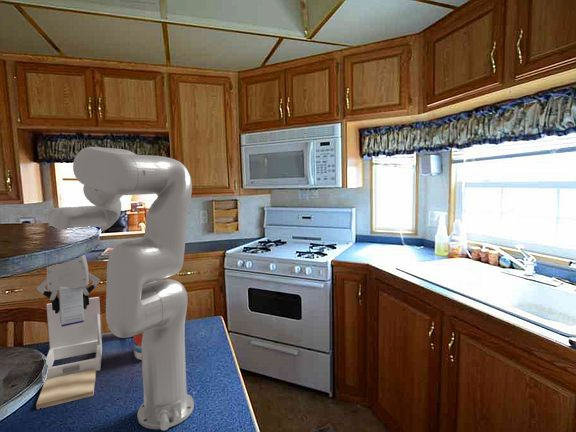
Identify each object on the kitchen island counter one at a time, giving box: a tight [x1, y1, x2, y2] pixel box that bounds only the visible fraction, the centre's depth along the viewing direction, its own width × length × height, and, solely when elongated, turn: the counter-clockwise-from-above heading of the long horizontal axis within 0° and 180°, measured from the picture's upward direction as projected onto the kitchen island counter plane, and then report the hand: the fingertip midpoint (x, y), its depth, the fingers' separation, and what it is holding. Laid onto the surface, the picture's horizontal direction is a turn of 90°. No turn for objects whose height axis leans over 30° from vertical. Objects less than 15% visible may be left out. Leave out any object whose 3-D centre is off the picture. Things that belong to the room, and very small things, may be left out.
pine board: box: [35, 369, 97, 410], centre depth 91 cm, size 12×12×1 cm
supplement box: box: [57, 287, 84, 327], centre depth 102 cm, size 6×6×12 cm
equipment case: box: [45, 296, 103, 379], centre depth 103 cm, size 16×14×18 cm
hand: (71, 309), depth 102 cm, fingers closed on supplement box, 6 cm apart
